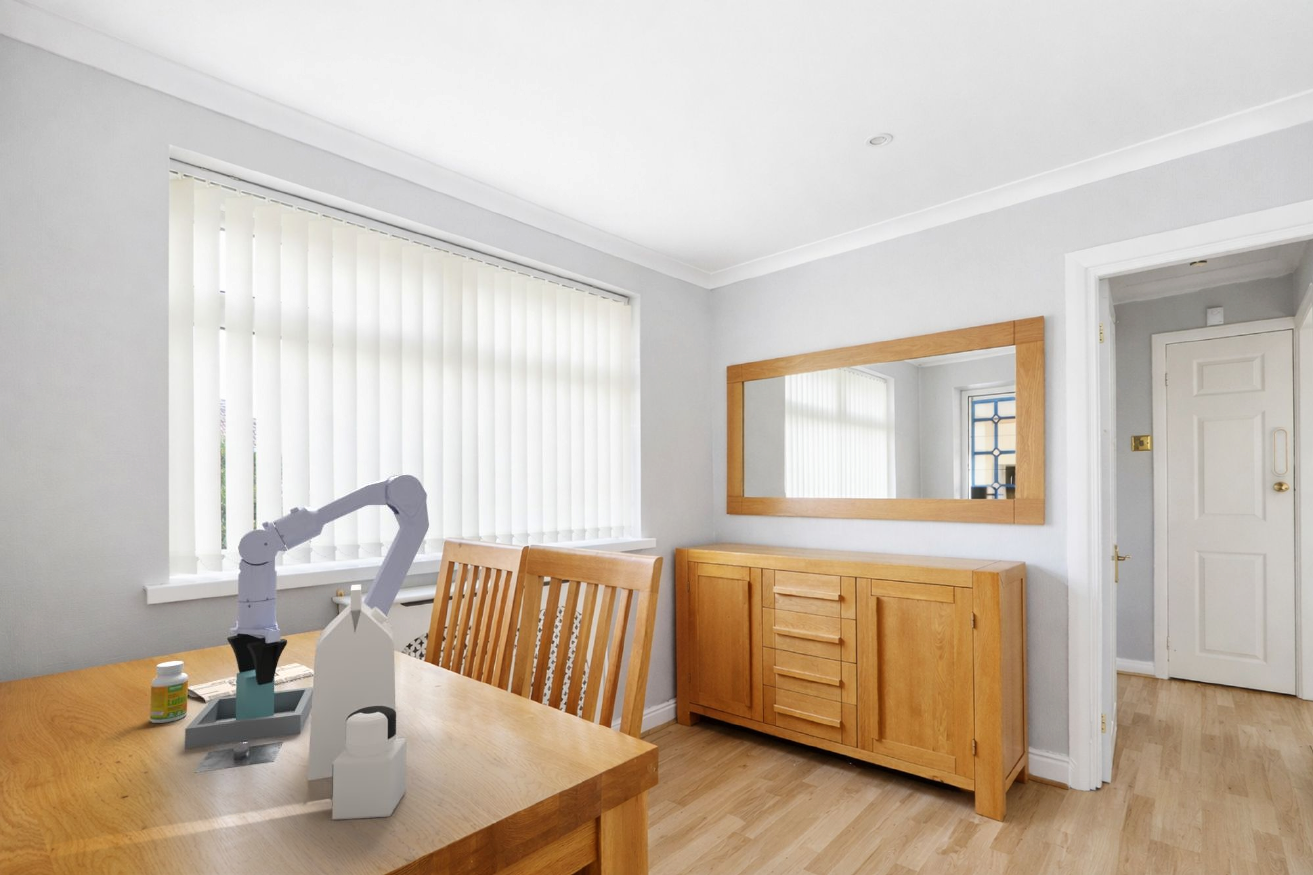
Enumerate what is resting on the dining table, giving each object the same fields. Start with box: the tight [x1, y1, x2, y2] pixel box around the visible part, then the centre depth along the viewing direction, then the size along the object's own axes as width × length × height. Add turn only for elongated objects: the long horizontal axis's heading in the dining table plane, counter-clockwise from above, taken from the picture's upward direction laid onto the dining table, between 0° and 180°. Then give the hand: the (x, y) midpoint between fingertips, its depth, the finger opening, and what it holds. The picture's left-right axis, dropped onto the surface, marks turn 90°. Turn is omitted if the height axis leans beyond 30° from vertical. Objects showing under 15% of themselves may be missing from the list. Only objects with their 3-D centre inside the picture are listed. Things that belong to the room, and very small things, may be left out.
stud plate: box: [193, 740, 284, 774], centre depth 100 cm, size 10×8×3 cm
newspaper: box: [187, 662, 314, 704], centre depth 141 cm, size 23×12×2 cm, turn 145°
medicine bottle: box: [331, 706, 407, 821], centre depth 87 cm, size 7×7×12 cm
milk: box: [307, 583, 397, 782], centre depth 100 cm, size 12×12×26 cm
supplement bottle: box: [149, 660, 189, 724], centre depth 121 cm, size 5×5×10 cm
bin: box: [184, 686, 313, 750], centre depth 114 cm, size 16×16×4 cm
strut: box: [235, 670, 275, 720], centre depth 114 cm, size 4×4×9 cm
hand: (256, 679), depth 114 cm, fingers open, 7 cm apart
